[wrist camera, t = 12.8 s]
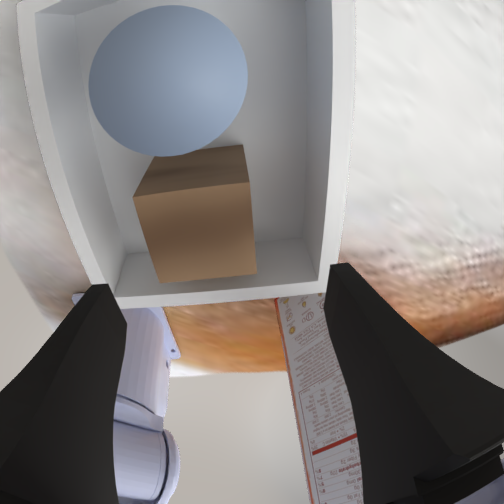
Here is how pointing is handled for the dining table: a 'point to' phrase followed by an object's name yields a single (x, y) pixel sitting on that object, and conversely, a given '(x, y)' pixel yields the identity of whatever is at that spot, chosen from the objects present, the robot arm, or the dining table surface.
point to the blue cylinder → (168, 80)
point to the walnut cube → (198, 215)
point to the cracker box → (320, 402)
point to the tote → (238, 133)
